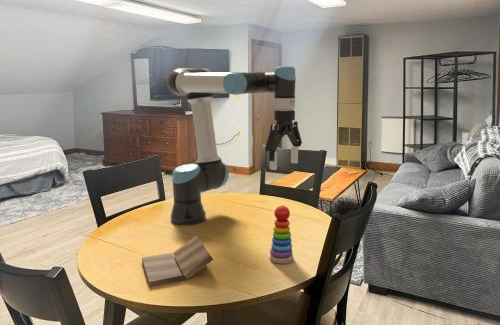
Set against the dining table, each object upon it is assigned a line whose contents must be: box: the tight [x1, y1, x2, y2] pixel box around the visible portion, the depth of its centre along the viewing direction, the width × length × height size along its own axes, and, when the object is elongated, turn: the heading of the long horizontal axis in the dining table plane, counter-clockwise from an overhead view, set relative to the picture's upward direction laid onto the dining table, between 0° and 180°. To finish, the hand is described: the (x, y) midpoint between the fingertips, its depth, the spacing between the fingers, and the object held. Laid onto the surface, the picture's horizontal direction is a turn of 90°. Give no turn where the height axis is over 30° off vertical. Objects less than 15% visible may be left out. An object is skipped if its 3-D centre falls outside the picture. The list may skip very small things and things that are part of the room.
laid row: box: [141, 252, 184, 288], centre depth 134 cm, size 18×10×2 cm, turn 21°
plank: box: [172, 235, 214, 280], centre depth 137 cm, size 18×10×2 cm
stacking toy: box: [269, 205, 294, 265], centre depth 140 cm, size 8×8×19 cm
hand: (284, 166), depth 158 cm, fingers open, 13 cm apart
